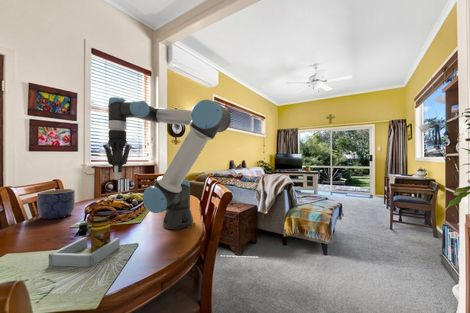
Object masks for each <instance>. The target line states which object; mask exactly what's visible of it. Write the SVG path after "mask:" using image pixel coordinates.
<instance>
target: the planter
mask: <svg viewBox="0 0 470 313" xmlns="http://www.w3.org/2000/svg"><path fill="white" fill-rule="evenodd" d="M36 201H37V202H36V203H37V204H36V205H37V214H38V216H40V217H41V218H42V219H45V220H54V219H53V218H57V219H61V218H60V217H62V218H65V217H64V216H66V217H68V216H69V215H71V214H72V213H73V212H74V210H75V206H76V204H75V203H76V191H75V189H73V188H64V189H63V188H61V189H52V190H51V189H50V190H45V191H44V190H43V191H39V192H37V199H36Z"/></svg>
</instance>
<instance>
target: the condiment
mask: <svg viewBox="0 0 470 313" xmlns="http://www.w3.org/2000/svg"><path fill="white" fill-rule="evenodd" d="M91 221H92V223H91V226H90V229H91V232H90V248H89V249H88V248H87V250H85V252H83V253H82V254H91V253H93V252H95V251H96V250H98V249H99V248H101V247H103V246H104V245H106V244H108V243H109V242H111V241H112V240H111V224H110V217H104V216H100V217H96V218H93V219H92V220H91Z"/></svg>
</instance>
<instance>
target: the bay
mask: <svg viewBox="0 0 470 313" xmlns="http://www.w3.org/2000/svg"><path fill="white" fill-rule="evenodd" d="M110 241H111V242H109V243H108V244H106V245H104V246H103V247H101V248H99V249H98V250H96V251H95V252H93V253H91V254H83V253H78V252H79V251H81V250H83V249H85V248H87V246H88V237H87V236H86V237H85V236H84V237H83V236H82V238H80V239H77V240H75V241H73V242H72V243H69V244H68V245H65V246H63V247H61V248H60V249H57V250H55V251H52V253H49V254H48V266H51V267H52V266H53V267H54V266H57V267H84V268H86V267H87V268H92V267H94V266H95V265H96V264H98V263H99V262H101V261H102V260H103V259H105V258H106V257H108V256H109V255H111V254H112V253H113V252H115V251H116V250H118V249H119V248H120V246H121V245H120V242H121V241H120V237H116V238H114V239H112V240H110Z"/></svg>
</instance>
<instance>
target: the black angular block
mask: <svg viewBox="0 0 470 313" xmlns="http://www.w3.org/2000/svg"><path fill="white" fill-rule="evenodd" d="M89 235H91V228H89V222H88V221H87V222H85V221H84V222H81V223H80V224H79V225H78V230H77V231H76V233H75V235H74V236H73V237H74V238H76V237H83V236H84V237H85V236H89Z"/></svg>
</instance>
